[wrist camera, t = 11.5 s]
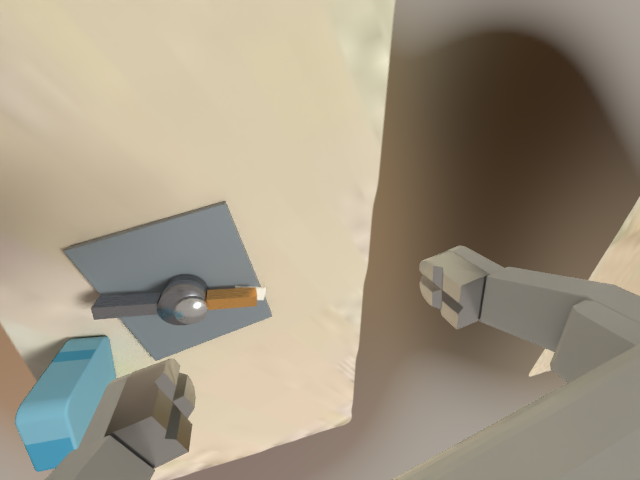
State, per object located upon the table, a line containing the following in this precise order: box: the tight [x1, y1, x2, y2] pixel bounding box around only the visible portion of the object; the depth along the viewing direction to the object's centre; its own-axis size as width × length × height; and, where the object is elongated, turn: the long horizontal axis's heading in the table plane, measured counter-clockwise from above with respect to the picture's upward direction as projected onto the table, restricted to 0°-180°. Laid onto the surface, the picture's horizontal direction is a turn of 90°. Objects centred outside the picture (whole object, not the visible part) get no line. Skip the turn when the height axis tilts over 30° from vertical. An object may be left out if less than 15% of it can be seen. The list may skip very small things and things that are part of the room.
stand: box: [64, 201, 272, 361], centre depth 39 cm, size 22×21×2 cm
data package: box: [15, 336, 116, 472], centre depth 35 cm, size 12×4×12 cm, turn 169°
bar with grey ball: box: [91, 274, 257, 326], centre depth 36 cm, size 20×6×5 cm, turn 82°
